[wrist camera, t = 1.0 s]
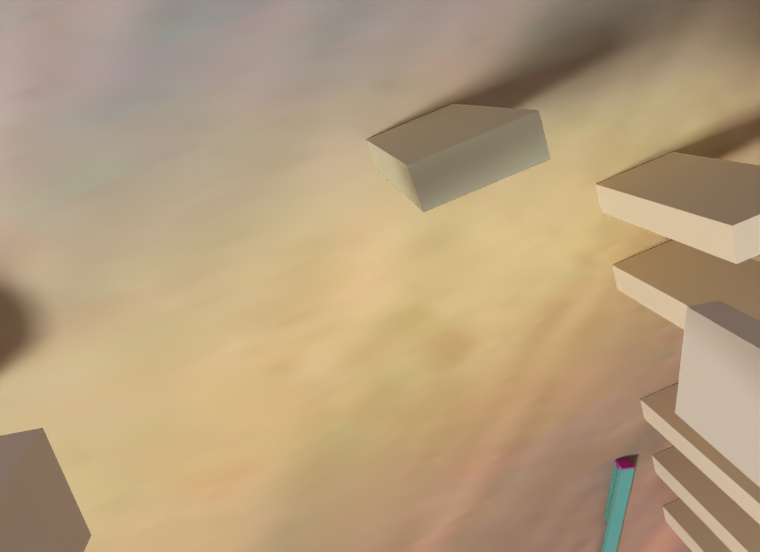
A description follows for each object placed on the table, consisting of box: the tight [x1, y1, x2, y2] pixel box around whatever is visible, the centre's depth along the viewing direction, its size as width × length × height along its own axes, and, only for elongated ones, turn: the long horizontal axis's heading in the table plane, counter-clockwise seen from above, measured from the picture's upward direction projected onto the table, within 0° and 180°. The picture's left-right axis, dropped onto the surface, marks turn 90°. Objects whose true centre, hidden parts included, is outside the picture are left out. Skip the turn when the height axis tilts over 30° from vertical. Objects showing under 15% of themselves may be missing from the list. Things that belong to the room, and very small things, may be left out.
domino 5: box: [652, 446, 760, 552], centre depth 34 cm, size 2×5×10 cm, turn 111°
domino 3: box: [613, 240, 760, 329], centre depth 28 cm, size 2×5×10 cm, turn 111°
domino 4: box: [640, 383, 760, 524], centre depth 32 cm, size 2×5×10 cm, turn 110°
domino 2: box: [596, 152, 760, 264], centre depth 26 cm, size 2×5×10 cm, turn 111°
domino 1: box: [366, 104, 550, 212], centre depth 23 cm, size 2×5×10 cm, turn 111°
